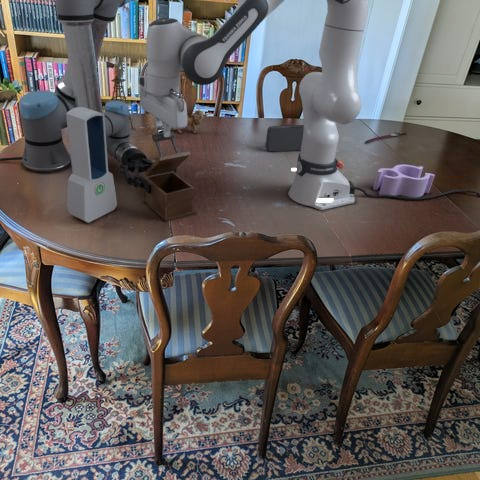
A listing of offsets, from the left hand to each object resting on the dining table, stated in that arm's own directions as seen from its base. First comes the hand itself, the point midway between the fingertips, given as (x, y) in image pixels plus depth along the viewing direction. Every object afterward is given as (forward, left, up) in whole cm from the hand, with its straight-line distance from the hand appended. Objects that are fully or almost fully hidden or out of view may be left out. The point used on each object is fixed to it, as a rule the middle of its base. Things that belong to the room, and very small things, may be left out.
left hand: (165, 185), depth 140 cm
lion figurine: (-7, +64, -6) cm, 65 cm away
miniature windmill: (-33, +55, -6) cm, 65 cm away
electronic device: (-18, -11, -6) cm, 22 cm away
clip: (+78, +34, -6) cm, 85 cm away
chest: (+2, -2, -6) cm, 7 cm away
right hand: (-1, +1, +16) cm, 16 cm away
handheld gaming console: (+37, +59, -6) cm, 70 cm away
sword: (+81, +89, -6) cm, 120 cm away
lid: (+1, -1, +7) cm, 7 cm away
